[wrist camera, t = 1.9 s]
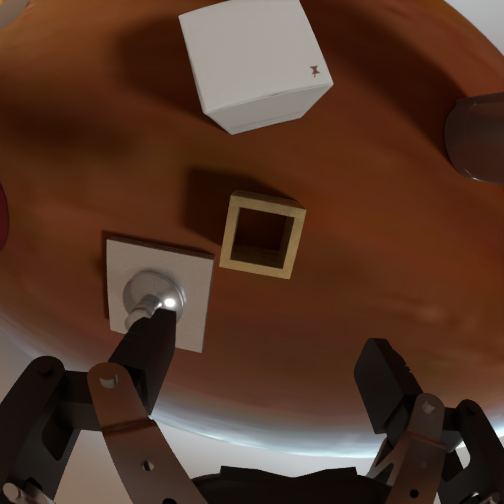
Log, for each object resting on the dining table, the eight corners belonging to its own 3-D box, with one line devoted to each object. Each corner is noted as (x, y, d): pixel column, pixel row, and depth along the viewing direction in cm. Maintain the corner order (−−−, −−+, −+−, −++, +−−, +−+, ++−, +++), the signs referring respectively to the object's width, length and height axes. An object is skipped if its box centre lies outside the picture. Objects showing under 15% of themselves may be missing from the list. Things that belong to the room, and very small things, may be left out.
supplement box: (281, 53, 22) (298, -14, 10) (302, 119, 24) (338, 87, 12) (209, 70, 23) (175, 12, 11) (228, 136, 25) (203, 117, 13)
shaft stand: (113, 235, 28) (79, 256, 22) (215, 255, 29) (203, 283, 22) (115, 323, 32) (91, 355, 26) (203, 345, 33) (193, 384, 26)
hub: (235, 189, 27) (230, 195, 22) (297, 201, 27) (306, 210, 22) (225, 248, 29) (219, 266, 24) (284, 259, 29) (289, 279, 24)
